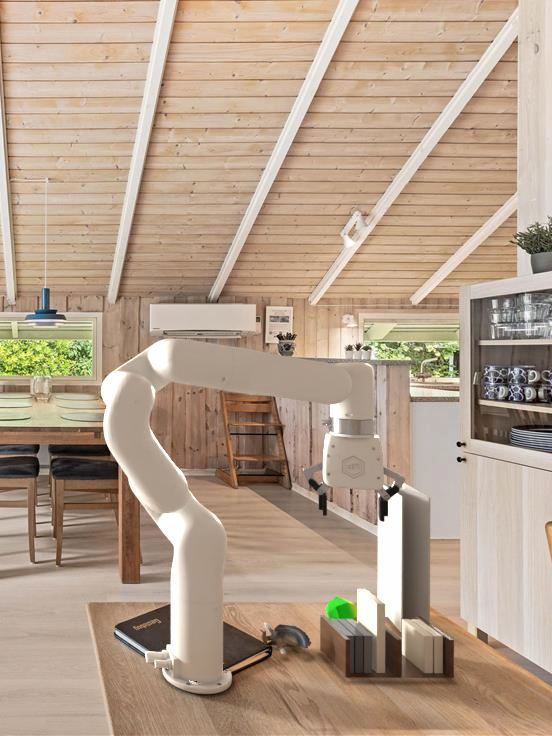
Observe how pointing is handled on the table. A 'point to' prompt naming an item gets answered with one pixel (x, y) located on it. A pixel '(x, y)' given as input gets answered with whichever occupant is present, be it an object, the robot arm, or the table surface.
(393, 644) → the book rack
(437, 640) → the white books
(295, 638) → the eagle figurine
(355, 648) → the grey books
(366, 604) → the white book
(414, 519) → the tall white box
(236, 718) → the table surface
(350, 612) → the apple
